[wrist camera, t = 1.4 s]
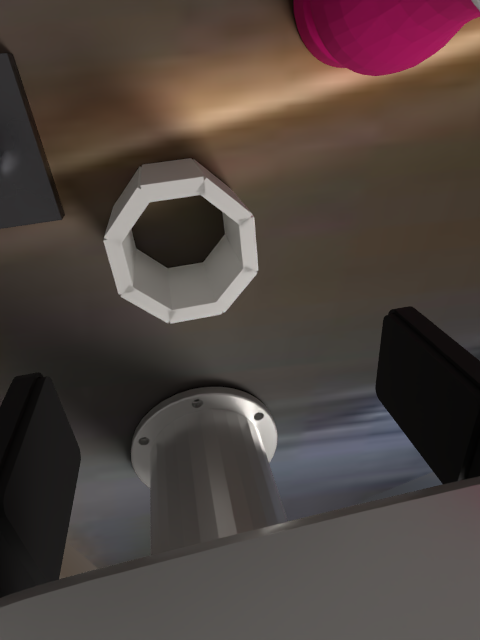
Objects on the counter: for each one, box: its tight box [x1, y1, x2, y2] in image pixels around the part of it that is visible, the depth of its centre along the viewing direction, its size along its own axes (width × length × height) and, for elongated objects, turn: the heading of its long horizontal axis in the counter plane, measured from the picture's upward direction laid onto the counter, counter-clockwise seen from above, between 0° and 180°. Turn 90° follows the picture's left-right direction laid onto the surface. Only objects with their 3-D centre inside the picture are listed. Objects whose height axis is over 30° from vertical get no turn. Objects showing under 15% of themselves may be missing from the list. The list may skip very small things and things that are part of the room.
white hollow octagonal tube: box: [103, 158, 258, 324], centre depth 23 cm, size 7×7×6 cm
